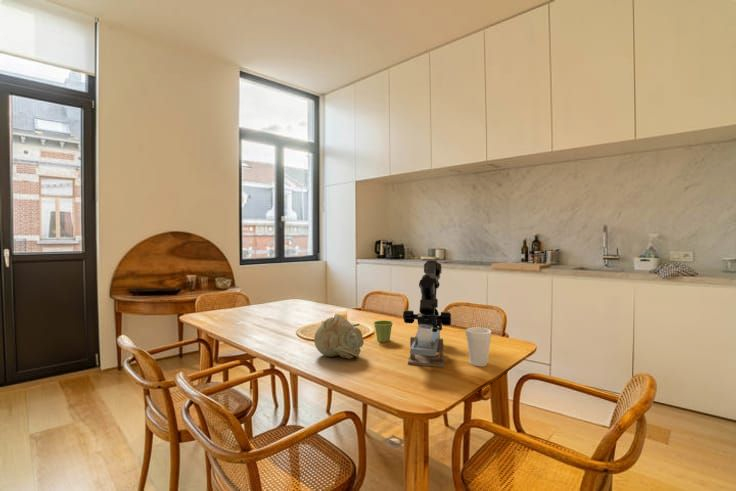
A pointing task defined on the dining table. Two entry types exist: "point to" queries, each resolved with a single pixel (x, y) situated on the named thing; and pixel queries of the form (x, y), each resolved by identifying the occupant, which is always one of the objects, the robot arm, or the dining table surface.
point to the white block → (425, 335)
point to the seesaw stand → (426, 359)
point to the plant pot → (383, 330)
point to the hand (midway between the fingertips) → (425, 336)
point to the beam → (425, 350)
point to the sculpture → (338, 338)
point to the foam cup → (478, 345)
